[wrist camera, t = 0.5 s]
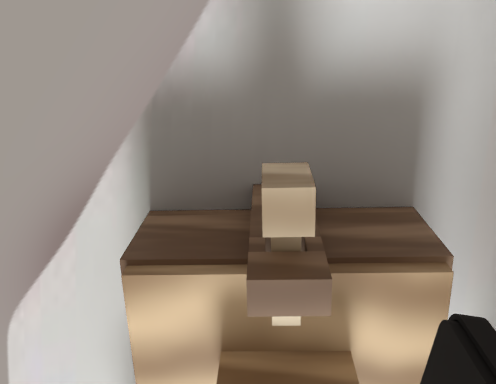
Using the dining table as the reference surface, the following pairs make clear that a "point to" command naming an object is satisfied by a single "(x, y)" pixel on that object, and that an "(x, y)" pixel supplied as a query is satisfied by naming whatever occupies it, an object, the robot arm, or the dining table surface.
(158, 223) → the toolbox
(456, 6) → the dining table surface
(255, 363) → the lid
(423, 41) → the dining table surface
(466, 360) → the robot arm
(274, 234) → the wooden key
